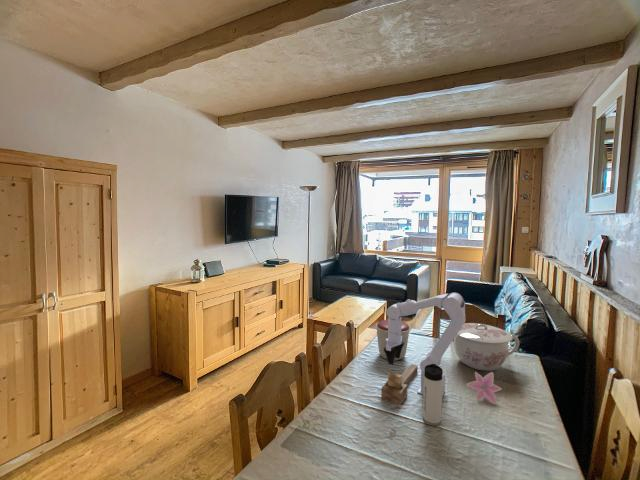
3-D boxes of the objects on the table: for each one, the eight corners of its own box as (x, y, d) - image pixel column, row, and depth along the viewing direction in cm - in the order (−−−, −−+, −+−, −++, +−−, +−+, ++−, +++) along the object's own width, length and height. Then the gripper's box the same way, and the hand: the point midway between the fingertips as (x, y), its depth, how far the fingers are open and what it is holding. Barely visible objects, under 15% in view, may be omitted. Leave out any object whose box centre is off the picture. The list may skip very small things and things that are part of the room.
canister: (413, 364, 163) (415, 323, 162) (377, 364, 164) (378, 323, 162) (405, 349, 181) (406, 312, 180) (372, 349, 182) (373, 312, 180)
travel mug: (440, 416, 121) (442, 364, 120) (441, 427, 115) (443, 373, 113) (423, 413, 123) (424, 362, 122) (422, 423, 117) (424, 370, 116)
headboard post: (422, 373, 154) (422, 364, 153) (400, 404, 129) (400, 393, 129) (406, 369, 158) (406, 360, 158) (381, 398, 133) (381, 387, 133)
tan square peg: (401, 394, 134) (401, 375, 133) (399, 396, 132) (399, 377, 131) (389, 390, 136) (390, 371, 136) (387, 392, 135) (388, 373, 134)
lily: (461, 395, 137) (466, 382, 132) (472, 376, 144) (477, 363, 139) (490, 415, 130) (497, 401, 125) (501, 394, 137) (507, 380, 132)
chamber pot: (440, 363, 165) (441, 323, 163) (464, 348, 183) (465, 312, 182) (500, 385, 144) (502, 339, 142) (520, 365, 163) (522, 325, 161)
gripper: (392, 325, 154) (391, 352, 155) (379, 334, 142) (379, 364, 143) (406, 328, 150) (406, 356, 151) (395, 337, 138) (394, 368, 139)
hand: (393, 360), depth 146 cm, fingers open, 7 cm apart
